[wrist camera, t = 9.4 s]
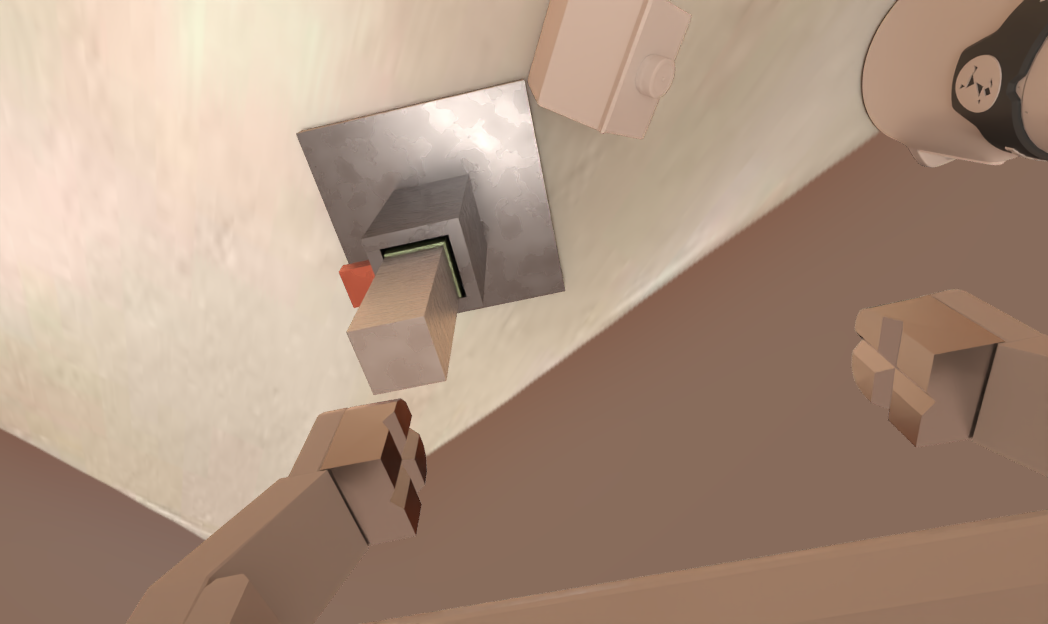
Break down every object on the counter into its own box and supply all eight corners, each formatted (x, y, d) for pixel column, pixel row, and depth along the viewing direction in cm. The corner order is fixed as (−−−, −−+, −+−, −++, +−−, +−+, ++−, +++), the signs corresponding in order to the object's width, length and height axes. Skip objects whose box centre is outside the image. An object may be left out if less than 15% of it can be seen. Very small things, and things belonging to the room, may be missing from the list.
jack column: (453, 209, 43) (425, 314, 27) (467, 257, 45) (448, 381, 29) (401, 220, 43) (343, 330, 27) (418, 268, 45) (372, 396, 29)
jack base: (523, 78, 45) (532, 96, 32) (563, 284, 54) (581, 359, 42) (301, 130, 46) (228, 167, 34) (378, 322, 55) (343, 406, 43)
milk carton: (526, 82, 45) (541, 113, 28) (552, -10, 42) (587, -37, 25) (603, 108, 46) (660, 152, 29) (634, 20, 43) (719, 14, 26)
